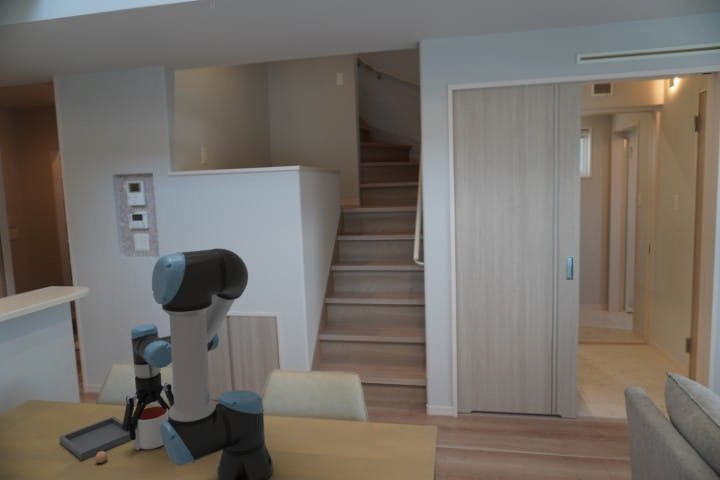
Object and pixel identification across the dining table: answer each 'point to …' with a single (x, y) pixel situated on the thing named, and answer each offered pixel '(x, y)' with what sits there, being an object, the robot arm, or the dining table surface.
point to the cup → (151, 427)
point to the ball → (101, 457)
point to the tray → (95, 438)
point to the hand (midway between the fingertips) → (153, 440)
